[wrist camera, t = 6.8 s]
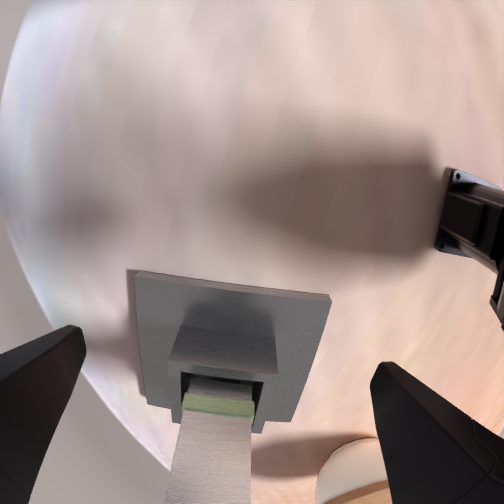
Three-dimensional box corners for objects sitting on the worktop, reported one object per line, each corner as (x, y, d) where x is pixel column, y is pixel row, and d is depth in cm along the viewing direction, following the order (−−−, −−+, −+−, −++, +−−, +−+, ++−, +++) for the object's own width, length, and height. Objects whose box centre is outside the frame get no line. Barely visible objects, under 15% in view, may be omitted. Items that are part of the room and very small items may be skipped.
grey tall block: (254, 383, 18) (254, 532, 8) (245, 422, 19) (242, 546, 10) (189, 375, 18) (156, 520, 8) (189, 415, 19) (166, 536, 9)
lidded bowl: (344, 421, 26) (366, 505, 16) (418, 426, 28) (446, 489, 18) (291, 470, 30) (297, 538, 20) (363, 473, 32) (377, 529, 22)
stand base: (328, 295, 21) (347, 334, 16) (289, 414, 26) (294, 454, 21) (139, 270, 20) (111, 304, 16) (149, 397, 25) (136, 434, 20)
